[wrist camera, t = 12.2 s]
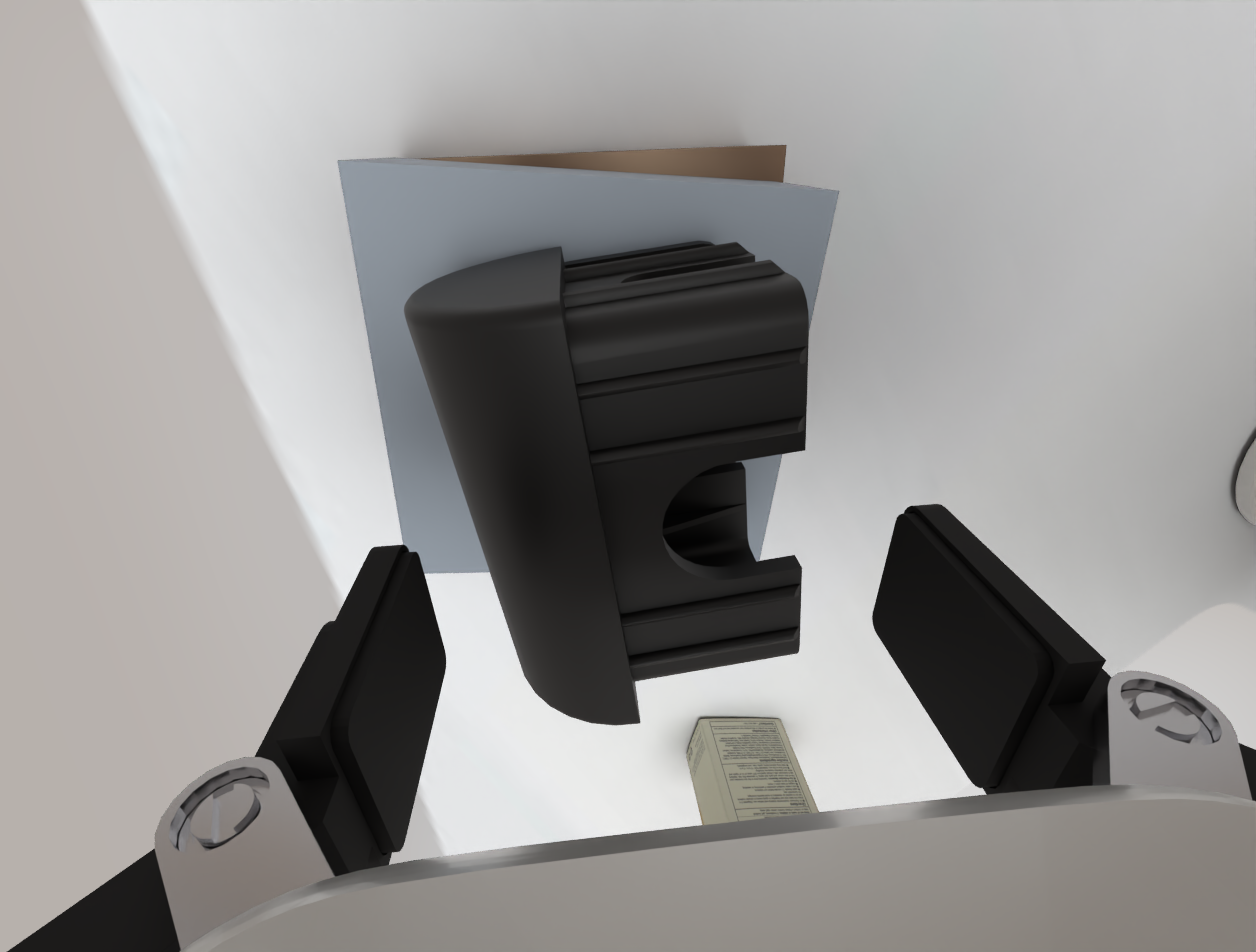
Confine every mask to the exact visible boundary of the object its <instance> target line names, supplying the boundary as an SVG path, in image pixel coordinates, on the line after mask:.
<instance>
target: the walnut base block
mask: <svg viewBox="0 0 1256 952" xmlns="http://www.w3.org/2000/svg"><path fill="white" fill-rule="evenodd" d="M785 155H786V145H768V146H732V147H706V148H681V149H655V150H629V151H603V152H577V153H551V154H525V155H499V156H473V157H447V158H421V159H423V160H439V161H455V162H471V163H487V164H503V165H519V166H535V167H551V168H567V169H583V170H599V171H616V172H632V173H648V174H664V175H680V176H696V177H712V178H728V179H744V180H760V181H775V182H782V183H783V177H784V166H785Z"/></svg>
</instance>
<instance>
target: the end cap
mask: <svg viewBox="0 0 1256 952" xmlns="http://www.w3.org/2000/svg"><path fill="white" fill-rule="evenodd" d="M404 315H405V319H406V322H407V325H408V328H409V331H410V334H411V337H412V340H413V343H414V346H415V349H416V352H417V355H418V358H419V361H420V364H421V367H422V370H423V373H424V376H425V379H426V382H427V385H428V388H429V391H430V394H431V397H432V400H433V403H434V406H435V409H436V412H437V415H438V418H439V421H440V424H441V427H442V430H443V433H444V436H445V439H446V442H447V445H448V448H449V451H450V454H451V457H452V460H453V463H454V466H455V469H456V472H457V475H458V478H459V481H460V484H461V487H462V490H463V493H464V496H465V499H466V502H467V505H468V508H469V511H470V514H471V517H472V520H473V523H474V526H475V529H476V532H477V535H478V538H479V541H480V544H481V547H482V550H483V553H484V556H485V559H486V562H487V565H488V568H489V571H490V574H491V577H492V580H493V583H494V586H495V589H496V592H497V595H498V598H499V601H500V604H501V607H502V610H503V613H504V616H505V619H506V622H507V625H508V628H509V631H510V634H511V637H512V640H513V643H514V646H515V649H516V652H517V655H518V658H519V661H520V664H521V667H522V670H523V673H524V676H525V678H526V679H527V681H528V682H529V684H530V685H531V687H532V688H533V690H534V691H535V693H536V694H537V695H538V696H539V697H540V698H542V699H543V700H544V701H545V702H546V703H547V704H548V705H549V706H551V707H553V708H555V709H556V710H558V711H560V712H562V713H564V714H566V715H568V716H570V717H573V718H576V719H579V720H583V721H586V722H590V723H596V724H606V725H626V724H637V723H640V716H639V709H638V701H637V694H636V686H635V681H640V680H645V679H651V678H657V677H663V676H669V675H674V674H680V673H686V672H692V671H698V670H703V669H709V668H715V667H721V666H727V665H732V664H738V663H744V662H750V661H756V660H761V659H767V658H773V657H779V656H785V655H790V654H796V653H798V652H799V646H800V612H801V577H802V567H801V566H800V564H799V562H798V560H797V559H796V557H795V555H792V556H786V557H780V558H775V559H769V560H763V561H757V562H756V560H755V558H754V555H753V553H752V551H751V549H750V546H749V542H748V530H747V499H746V469H745V467H744V465H743V464H742V462H737V461H743V460H749V459H755V458H761V457H767V456H773V455H779V454H785V453H791V452H797V451H803V450H805V440H806V406H807V372H808V337H809V312H808V305H807V299H806V296H805V292H804V289H803V287H802V285H801V283H800V281H799V280H798V279H797V278H795V277H794V276H792V275H790V274H788V273H786V272H785V271H783V270H782V269H781V268H780V267H779V266H778V265H776V264H775V263H774V262H773V261H771V260H764V261H758V262H755V255H754V254H752V253H750V252H748V251H747V250H746V249H745V248H744V247H742V246H741V245H740V244H739V243H738V242H732V243H725V244H719V245H715V244H713V243H711V242H707V241H692V242H686V243H680V244H673V245H667V246H661V247H655V248H648V249H642V250H636V251H629V252H623V253H617V254H610V255H604V256H598V257H591V258H585V259H579V260H573V261H567V262H564V258H563V252H562V248H561V247H555V248H549V249H543V250H538V251H533V252H528V253H523V254H518V255H513V256H509V257H505V258H501V259H496V260H492V261H489V262H485V263H481V264H478V265H474V266H471V267H468V268H465V269H461V270H458V271H455V272H452V273H450V274H447V275H445V276H442V277H439V278H437V279H435V280H433V281H431V282H429V283H427V284H425V285H423V286H422V287H420V288H419V289H418V290H416V291H415V292H414V293H412V294H411V296H410V297H409V299H408V300H407V302H406V304H405V306H404Z"/></svg>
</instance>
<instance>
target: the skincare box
mask: <svg viewBox="0 0 1256 952" xmlns="http://www.w3.org/2000/svg"><path fill="white" fill-rule="evenodd" d="M687 761H688V765H689V769H690V774H691V778H692V782H693V786H694V791H695V795H696V799H697V803H698V807H699V812H700V816H701V820H702V824H703V825H709V824H718V823H727V822H736V821H745V820H754V819H763V818H772V817H782V816H791V815H800V814H809V813H818V812H819V811H818V809H817V806H816V804H815V801H814V799H813V797H812V794H811V792H810V790H809V787H808V785H807V782H806V780H805V777H804V775H803V773H802V770H801V768H800V765H799V763H798V760H797V758H796V756H795V753H794V751H793V749H792V746H791V744H790V741H789V739H788V736H787V734H786V732H785V729H784V727H783V724H782V722H781V720H780V719H759V718H717V719H716V718H715V719H700V720H699V722H698V725H697V727H696V730H695V732H694V735H693V737H692V740H691V743H690V746H689V749H688V753H687Z"/></svg>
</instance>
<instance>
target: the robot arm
mask: <svg viewBox="0 0 1256 952" xmlns="http://www.w3.org/2000/svg"><path fill="white" fill-rule="evenodd" d="M1236 503H1237V505H1238V508H1239V511H1240V513H1241V514H1242V515H1243V516H1244V518H1245V519H1246V520H1247V521H1248V522H1250V523H1251V524H1253V525H1255V526H1256V438H1255V440H1254V441H1253V443H1252V445H1251V446H1250V448H1249V449H1248V451H1247V453H1246V455H1245V457H1244V460H1243V462H1242V464H1241V466H1240V469H1239V473H1238V477H1237V481H1236ZM872 620H873V626H874V629H875V631H876V633H877V635H878V636H879V638H880V640H881V641H882V643H883V644H884V646H885V647H886V649H887V651H888V652H889V654H890V655H891V657H892V658H893V660H894V662H895V663H896V665H897V666H898V668H899V669H900V671H901V673H902V674H903V676H904V677H905V679H906V680H907V682H908V684H909V685H910V687H911V688H912V690H913V691H914V693H915V695H916V696H917V698H918V699H919V701H920V702H921V704H922V706H923V707H924V709H925V710H926V712H927V713H928V715H929V717H930V718H931V720H932V721H933V723H934V724H935V726H936V728H937V729H938V731H939V732H940V734H941V735H942V737H943V739H944V740H945V742H946V743H947V745H948V746H949V748H950V750H951V751H952V753H953V754H954V756H955V757H956V759H957V761H958V762H959V764H960V765H961V767H962V768H963V770H964V771H965V773H966V775H967V776H968V778H969V779H970V780H971V782H972V783H973V784H974V785H975V786H977V787H979V788H983V789H984V791H985V792H986V794H987V795H979V796H969V797H960V798H950V799H941V800H931V801H922V802H912V803H902V804H893V805H883V806H874V807H864V808H855V809H845V810H836V811H827V812H818V813H809V814H800V815H791V816H782V817H772V818H763V819H754V820H745V821H736V822H727V823H718V824H709V825H700V826H691V827H682V828H673V829H665V830H656V831H647V832H639V833H630V834H622V835H613V836H604V837H596V838H587V839H578V840H570V841H561V842H553V843H544V844H535V845H527V846H518V847H510V848H503V849H495V850H488V851H480V852H473V853H465V854H458V855H451V856H443V857H436V858H429V859H421V860H413V861H408V862H403V863H397V864H391V865H389V861H390V858H391V854H392V852H399V851H400V850H401V849H402V847H403V845H404V842H405V838H406V834H407V830H408V826H409V822H410V817H411V813H412V809H413V805H414V801H415V796H416V792H417V788H418V784H419V780H420V775H421V771H422V767H423V763H424V759H425V754H426V750H427V746H428V742H429V738H430V733H431V729H432V725H433V721H434V717H435V712H436V708H437V704H438V700H439V696H440V691H441V687H442V683H443V679H444V675H445V669H446V654H445V649H444V646H443V642H442V638H441V635H440V631H439V627H438V623H437V620H436V616H435V612H434V608H433V605H432V601H431V597H430V594H429V590H428V586H427V582H426V579H425V575H424V571H423V568H422V564H421V560H420V557H419V554H418V553H417V552H409V549H408V548H407V546H405V545H394V546H381V547H374V548H372V549H371V550H370V552H369V554H368V556H367V558H366V560H365V562H364V564H363V566H362V568H361V570H360V572H359V574H358V576H357V578H356V580H355V582H354V584H353V586H352V588H351V590H350V592H349V594H348V596H347V598H346V600H345V602H344V604H343V606H342V608H341V610H340V612H339V614H338V616H337V618H336V620H335V621H330V622H328V623H327V624H325V625H324V626H323V627H322V629H321V630H320V632H319V634H318V636H317V638H316V639H315V641H314V643H313V645H312V647H311V649H310V651H309V653H308V655H307V657H306V659H305V661H304V663H303V665H302V667H301V668H300V670H299V672H298V674H297V676H296V678H295V680H294V682H293V684H292V686H291V688H290V690H289V692H288V693H287V695H286V697H285V699H284V701H283V703H282V705H281V707H280V709H279V711H278V713H277V715H276V717H275V718H274V720H273V722H272V724H271V726H270V728H269V730H268V732H267V734H266V736H265V738H264V740H263V742H262V744H261V746H260V747H259V749H258V751H257V753H256V755H255V757H244V758H240V759H236V760H233V761H229V762H226V763H224V764H222V765H220V766H218V767H215V768H214V769H211V770H209V771H207V772H206V773H205V774H203V775H202V776H200V777H199V778H198V779H197V780H195V781H193V782H192V783H191V784H189V785H188V786H187V787H186V788H185V789H184V790H183V791H182V792H181V793H180V794H179V795H178V796H177V797H176V798H175V799H174V800H173V801H172V803H171V804H170V806H169V807H168V809H167V810H166V811H165V813H164V814H163V816H162V817H161V820H160V822H159V825H158V828H157V830H156V833H155V849H153V850H152V851H150V852H149V853H148V854H146V855H145V856H143V857H142V858H140V859H139V860H137V861H136V862H135V863H133V864H132V865H130V866H129V867H128V868H126V869H125V870H123V871H122V872H120V873H119V874H117V875H116V876H115V877H113V878H112V879H110V880H109V881H107V882H106V883H105V884H103V885H102V886H100V887H99V888H98V889H96V890H95V891H93V892H92V893H90V894H89V895H88V896H86V897H85V898H83V899H82V900H80V901H79V902H77V903H76V904H75V905H73V906H72V907H70V908H69V909H67V910H66V911H65V912H63V913H62V914H60V915H59V916H57V917H56V918H55V919H53V920H52V921H50V922H49V923H48V924H46V925H45V926H43V927H42V928H40V929H39V930H37V931H36V932H35V933H33V934H32V935H30V936H29V937H28V938H26V939H25V940H23V941H22V942H20V943H19V944H17V945H16V946H15V947H13V948H12V949H10V950H9V951H7V952H1256V750H1254V749H1252V748H1250V747H1247V746H1244V745H1242V744H1240V743H1238V739H1237V735H1236V732H1235V730H1234V728H1233V726H1232V724H1231V722H1230V721H1229V720H1228V719H1227V718H1226V716H1225V715H1224V714H1223V713H1222V712H1221V711H1220V710H1219V708H1217V707H1216V706H1215V705H1213V704H1212V703H1211V702H1210V701H1209V700H1207V699H1206V698H1205V697H1203V696H1202V695H1200V694H1199V693H1197V692H1195V691H1194V690H1192V689H1190V688H1188V687H1187V686H1185V685H1183V684H1181V683H1178V682H1176V681H1173V680H1171V679H1169V678H1166V677H1163V676H1160V675H1156V674H1152V673H1148V672H1140V671H1126V672H1121V673H1117V674H1116V675H1115V676H1113V677H1112V678H1111V677H1110V676H1109V675H1108V674H1107V673H1106V672H1105V671H1104V670H1103V669H1102V666H1103V665H1104V663H1105V661H1106V660H1105V659H1104V658H1103V657H1102V656H1101V655H1100V654H1099V653H1098V652H1097V651H1096V650H1095V649H1094V648H1093V647H1092V646H1090V645H1089V644H1088V643H1087V642H1086V641H1085V640H1084V639H1083V638H1082V637H1081V636H1080V635H1079V634H1078V633H1077V632H1076V631H1075V630H1074V629H1073V628H1072V627H1070V626H1069V625H1068V624H1067V623H1066V622H1065V621H1064V620H1063V619H1062V618H1061V617H1060V616H1059V615H1058V614H1057V613H1056V612H1055V611H1054V610H1053V609H1051V608H1050V607H1049V606H1048V605H1047V604H1046V603H1045V602H1044V601H1043V600H1042V599H1041V598H1040V597H1039V596H1038V595H1037V594H1036V593H1035V592H1034V591H1033V590H1031V589H1030V588H1029V587H1028V586H1027V585H1026V584H1025V583H1024V582H1023V581H1022V580H1021V579H1020V578H1019V577H1018V576H1017V575H1016V574H1015V573H1014V572H1013V571H1011V570H1010V569H1009V568H1008V567H1007V566H1006V565H1005V564H1004V563H1003V562H1002V561H1001V560H1000V559H999V558H998V557H997V556H996V555H995V554H994V553H993V552H991V551H990V550H989V549H988V548H987V547H986V546H985V545H984V544H983V543H982V542H981V541H980V540H979V539H978V538H977V537H976V536H975V535H974V534H973V533H971V532H970V531H969V530H968V529H967V528H966V527H965V526H964V525H963V524H962V523H961V522H960V521H959V520H958V519H957V518H956V517H955V516H954V515H953V514H951V513H950V512H949V511H948V510H947V509H946V508H945V507H944V506H942V505H939V504H932V505H919V506H910V507H908V508H907V509H906V510H905V512H904V514H901V515H899V516H898V517H897V520H896V523H895V527H894V531H893V535H892V539H891V543H890V547H889V551H888V555H887V559H886V563H885V567H884V571H883V575H882V579H881V583H880V587H879V591H878V595H877V599H876V603H875V607H874V610H873V616H872Z"/></svg>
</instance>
